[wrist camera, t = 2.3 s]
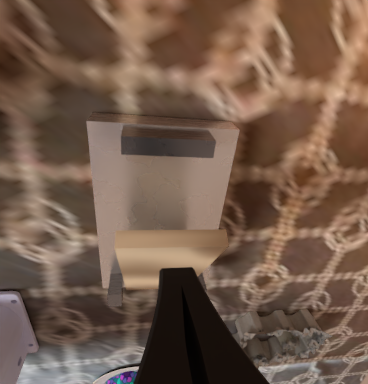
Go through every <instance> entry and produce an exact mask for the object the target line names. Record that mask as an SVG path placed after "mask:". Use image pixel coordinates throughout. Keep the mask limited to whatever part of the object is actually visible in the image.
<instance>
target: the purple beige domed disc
mask: <svg viewBox="0 0 368 384" xmlns="http://www.w3.org/2000/svg"><path fill="white" fill-rule="evenodd" d="M138 369H139V367H129V368H124V369H120V370H116V371H113V372H110V373H108V374H105V375H103V376H102V377H100V378H98V379H97V380H96V381H94V382H93V383H92V384H104V383H105V382H106V381H107V380H108V379H109V378H110V379H109V380H108V381H107V382H106V384H133V383H134V380H135V377H136V375H137V372H134V371H131V370H138ZM126 371H127V372H126ZM122 372H124V373H122ZM119 373H121V374H120V375H119V376H118V377H112V376H114V375H117V374H119ZM111 377H112V378H111Z"/></svg>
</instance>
